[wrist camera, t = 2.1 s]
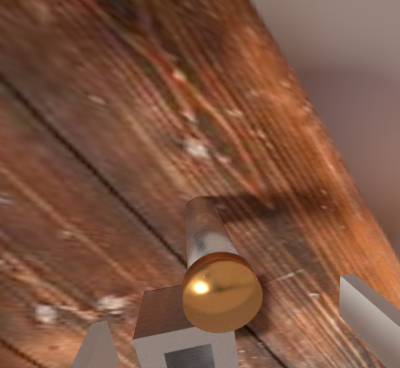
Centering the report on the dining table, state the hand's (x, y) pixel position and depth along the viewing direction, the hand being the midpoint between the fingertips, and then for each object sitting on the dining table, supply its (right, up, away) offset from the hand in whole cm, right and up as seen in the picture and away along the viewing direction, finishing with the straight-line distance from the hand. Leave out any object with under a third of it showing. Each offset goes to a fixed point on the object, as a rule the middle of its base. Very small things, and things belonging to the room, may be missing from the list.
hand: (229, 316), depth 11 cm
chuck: (-3, -17, +19) cm, 26 cm away
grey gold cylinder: (-2, +4, +14) cm, 15 cm away
